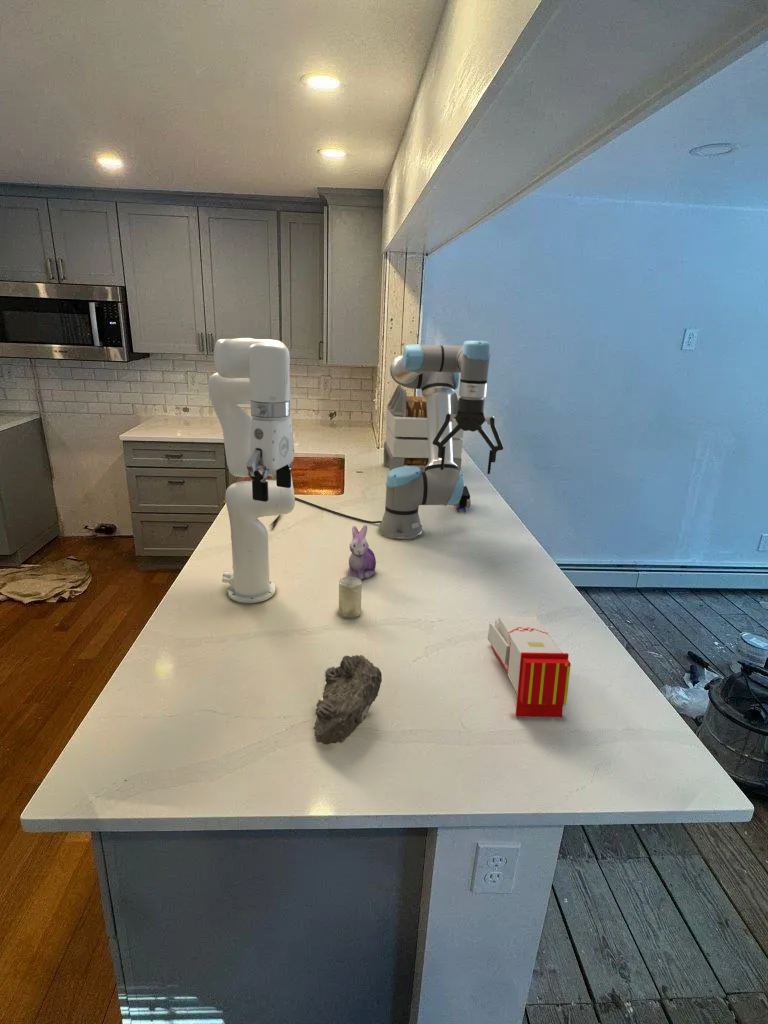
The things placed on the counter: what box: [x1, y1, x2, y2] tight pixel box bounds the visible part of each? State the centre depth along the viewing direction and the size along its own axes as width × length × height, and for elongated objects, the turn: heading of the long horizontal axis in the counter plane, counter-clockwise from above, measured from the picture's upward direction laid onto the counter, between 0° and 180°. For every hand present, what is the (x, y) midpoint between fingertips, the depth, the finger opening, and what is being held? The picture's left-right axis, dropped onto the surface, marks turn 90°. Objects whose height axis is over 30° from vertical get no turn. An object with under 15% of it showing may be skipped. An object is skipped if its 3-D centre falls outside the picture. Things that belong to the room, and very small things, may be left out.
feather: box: [270, 515, 281, 529], centre depth 210 cm, size 2×28×2 cm
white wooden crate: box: [383, 384, 465, 472], centre depth 268 cm, size 34×33×41 cm
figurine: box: [347, 524, 377, 580], centre depth 166 cm, size 9×10×15 cm
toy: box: [487, 616, 572, 718], centre depth 123 cm, size 12×13×30 cm
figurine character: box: [453, 485, 472, 513], centre depth 228 cm, size 7×8×15 cm
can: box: [338, 576, 363, 619], centre depth 146 cm, size 6×6×9 cm
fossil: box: [312, 654, 383, 746], centre depth 110 cm, size 22×10×15 cm
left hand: (272, 493), depth 116 cm, fingers open, 9 cm apart
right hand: (465, 470), depth 167 cm, fingers open, 13 cm apart
